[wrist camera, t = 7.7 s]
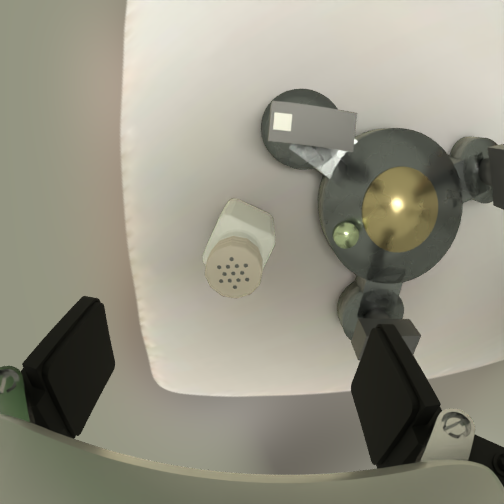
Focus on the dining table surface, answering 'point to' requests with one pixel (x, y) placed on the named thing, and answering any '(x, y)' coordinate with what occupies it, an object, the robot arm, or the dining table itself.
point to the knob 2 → (494, 173)
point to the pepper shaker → (238, 249)
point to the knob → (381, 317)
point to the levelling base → (386, 204)
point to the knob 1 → (312, 126)
